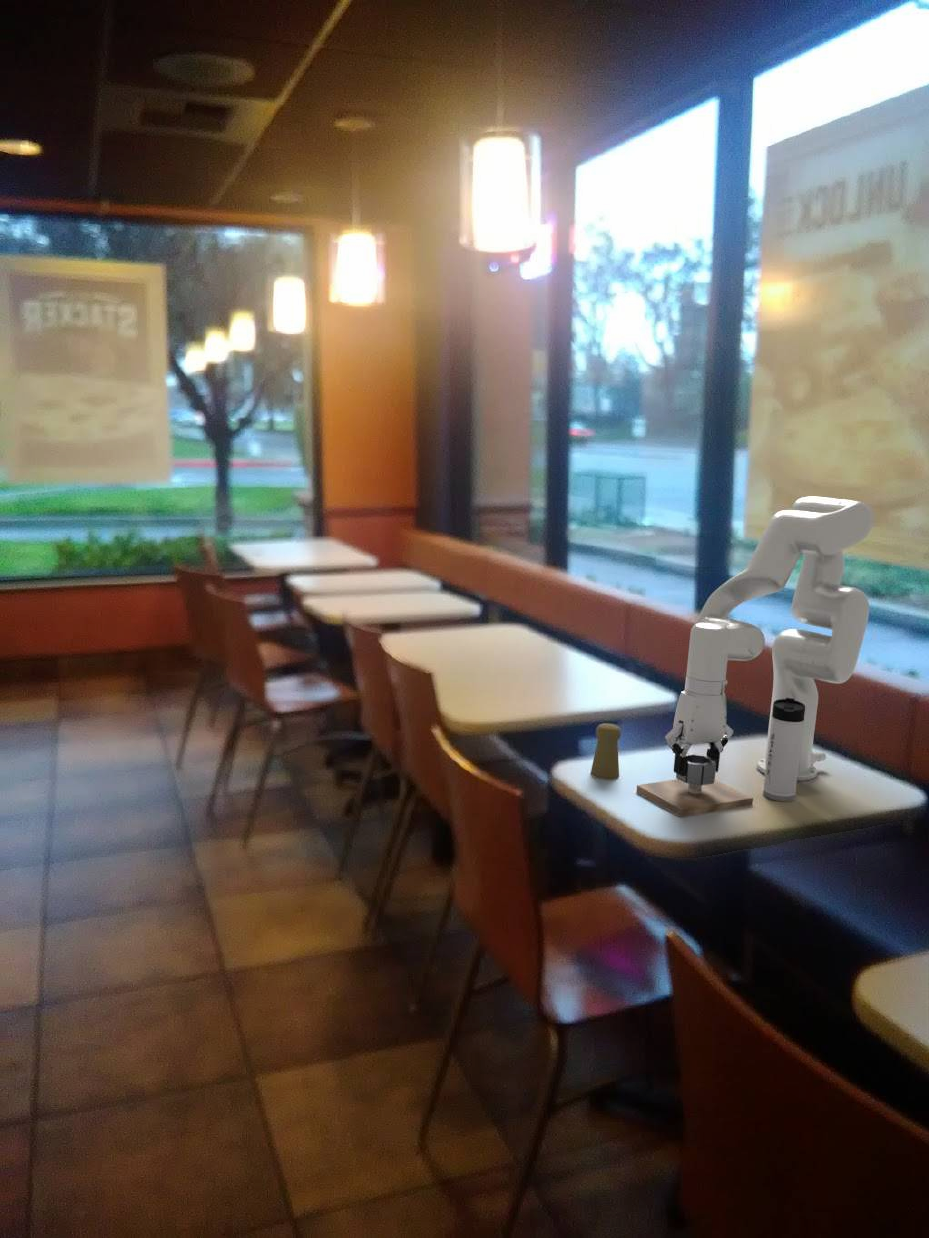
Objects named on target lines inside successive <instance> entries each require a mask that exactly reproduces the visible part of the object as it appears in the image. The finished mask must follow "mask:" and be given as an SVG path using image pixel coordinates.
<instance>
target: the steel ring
mask: <svg viewBox="0 0 929 1238" xmlns="http://www.w3.org/2000/svg"><path fill="white" fill-rule="evenodd" d="M686 757H688V764H687V774H686V776H681V775H679V774H677V773H675V775H676V776H675V779H679V780H680V781H682V782H684V783H688V784H695V785H708V784H713V783H714V781H715V780H716V773H717V772H716V763H717V760H716V759H714V758H712V757H710V756H708V755H707V754H702V753H697V752H696V753H695V752H694V753H693V752H692V753H691V752H687V754H686Z"/></svg>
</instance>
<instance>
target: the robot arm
mask: <svg viewBox="0 0 929 1238" xmlns="http://www.w3.org/2000/svg"><path fill="white" fill-rule="evenodd" d="M873 526H874V514H873V510H872V509H871V507H870V505H868V504H867V503H865V502H863V501H858V500H852V499H842V498H834V497H827V496H825V497H824V496H805V497H800V498H798V499H797V500H796V501H795V502H794V503H793V505H792V508H791V509H786V510H783V509H782V510H780V511H778V512H776V513H775V514H774V515H773V516H772V517H771V519H770V520H769V522H768V524H767V526H766V528H765V530H764V532H763V534H762V536H761V537H760V540H759V542H758V544H757V545H756V548H755V549H754V552H753V553H752V556H751V557H750V559H749V560H748V563H747V565H746V566H745V568H744V569H743V570H742V571H741V572H739V573H737V574H736V575H734V576H732V577H731V578H729V579H727V581H726V582H724V583H723V584H721V585H720V586H719V587H717V588H716V590H714V591H713V592H712V593H711V594H710V596H709V597H707V600H706V602H705V603H704V605H703V607H702V609H701V611H700V613H699V615H698V617H697V620H696V622H695V624H694V625H692V627H691V630H690V635H689V647H688V655H687V664H686V665H687V666H686V675H685V685H684V690H683V691H681V692H680V695H679V697H678V701H677V705H676V707H675V708H676V709H675V712H674V719H673V725H672V726H673V727H672V729H671V730H670V731H669V732H667V734H665V736H664V739H665V740H666V742H667V745H668V748H670V749H671V751H672V753H673V754H674V761H673V762H674V763H673V773H675V774H676V773H677V774H679V775H681V776H686V774H687V764H688V757H686V754H687V753H689V750H690V749H691V747H692V745H700V744H708V746H709V748H707V750H706V755H708V756H710V757H712V758H714V759H716V760H717V763H716V773H718V772H719V767H720V757H721V753H723V752H724V748H725V747H726V745H727V744H728V742H729V739H730V738H731V737H732V735H733V734H734V729H732V728H731V727H730V726H729V725H728V724H727V695H726V693H725V686H727V685H728V680H727V676H726V675H727V669H728V668H727V667H728V661H738V662H739V661H740V662H743V661H744V662H745V661H751V660H754V659H755V658H757V657H758V656H759V655H761V653H762V652H763V650H764V648H765V643H766V637H765V635H764V633H763V631H762V630H761V628H759V627H758V626H757V625H754V624H752V623H749V622H744V621H740V620H736V619H732V618H728V616H729V614H731V612H732V611H733V610H735V609H736V608H737V607H738V606H739V605H742V604H743V603H745V602H748V601H750V600H754V599H757V598H761V597H764V596H768V595H772V594H775V593H778V592H780V591H782V590H783V589H784V588H785V587H786V585H787V583H788V581H789V580H790V577H791V575H792V572H793V571H794V569H795V567H796V565H797V563H798V561H799V559H800V557H801V556H802V562H801V568H800V571H799V573H798V579H797V582H796V585H795V589H794V593H793V597H792V602H791V603H792V604H791V615H792V617H793V618H794V620H796V621H798V622H800V623H802V624H806V625H809V626H813V627H817V628H821V629H823V628H824V629H827V630H832V631H831V635H828V634H827V635H826V634H822V633H819V632H814V631H809V630H804V629H798V628H791V629H786V630H783V631H781V632H780V633H779V634H778V635H777V636H776V637H775V639H774V641H773V643H772V651H771V656H772V667H773V668H772V669H773V670H772V671H773V681H772V682H773V684H772V693H771V694H772V695H771V703H770V714H769V720H768V721H769V722H768V730H767V740H766V749H765V757H762V758H761V759H759V760H757V762H756V768H757V770H759V772H761V773H763V774H764V775H765V771H766V762H767V753H768V744H769V735H770V727H771V719H772V713H773V703H774V701H776V700H779V699H786V698H793V699H794V700H795V701H799V702H801V703H803V704H804V705H805V715H804V725H803V734H802V742H801V751H800V759H799V768H798V776H797V782H798V781H800V782H801V781H809V780H813V779H815V778H816V777H817V775H818V769H817V768H816V767H814V764H815V763H816V762H823V761H826V760H827V755H826V753H825V752H823V751H820V752H814V751H813V745H814V737H815V736H814V735H815V729H816V723H817V722H816V721H817V713H818V712H817V711H818V704H819V691H818V688H817V685H816V682H815V680H818V681H821V682H826V683H830V684H839V685H840V684H843V683H845V682H847V681H848V680H849V679H850V678H851V676H853V673H854V671H855V668H856V666H857V663H858V659H859V655H860V651H861V648H862V644H863V640H864V637H865V634H866V630H867V625H868V622H869V618H870V617H869V615H870V603H869V599H868V596H867V595H866V593H864V591H862V590H861V589H859V588H857V587H852V586H848V585H842V584H841V582H842V578H843V572H844V570H845V569H844V568H845V557H844V552H843V551H844V550H845V549H848V548H851V547H852V546H855V545H858V544H859V543H861V542H862V541H864V540H865V539H866V538H867V536H869V534H870V532H871V530H872V529H873ZM682 746H683V747H682Z"/></svg>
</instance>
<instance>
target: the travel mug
mask: <svg viewBox="0 0 929 1238" xmlns="http://www.w3.org/2000/svg"><path fill="white" fill-rule="evenodd" d="M804 715H805V705H804V704H803V703H801V702H799V701H795V700H794V699H793V698H786V699H779V700H776V701H774V703H773V713H772V719H771V727H770V735H769V744H768V753H767V762H766V771H765V774H764V779H763V780H764V783H763V791H762V794H763V796H764V797H766V798H767V799H769V800H771V801H775V800H776V801H777V802H783V803H784V802H785V803H786V802H791V801H795V799H796V794H797V793H796V790H797V783H798V781H797V776H798V768H799V759H800V751H801V742H802V734H803V725H804Z"/></svg>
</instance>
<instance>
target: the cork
mask: <svg viewBox="0 0 929 1238" xmlns="http://www.w3.org/2000/svg"><path fill="white" fill-rule="evenodd" d="M621 734H622V732H621V729H620V726H618V725H617V724H613V723H606V722H605V723H600V724H599V725H598V726H597V727H596V729H595V736H596V738H597V743H596V747H595V751H594V755H593V756H594V757H593V760H592V761H593V762H592V765H591V770H590V775H591V774H592V775H593V776H595V777H594V778H595V779H599V780H607V781H608V780H609V781H611V780H612V779H613V780H616V779H619V778H620V765H619V750H618V749H619V748H618V747H619V746H618V743H619V742H618V741H619V739H620V738H621ZM592 775H591V776H592ZM593 776H592V777H593Z"/></svg>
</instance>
